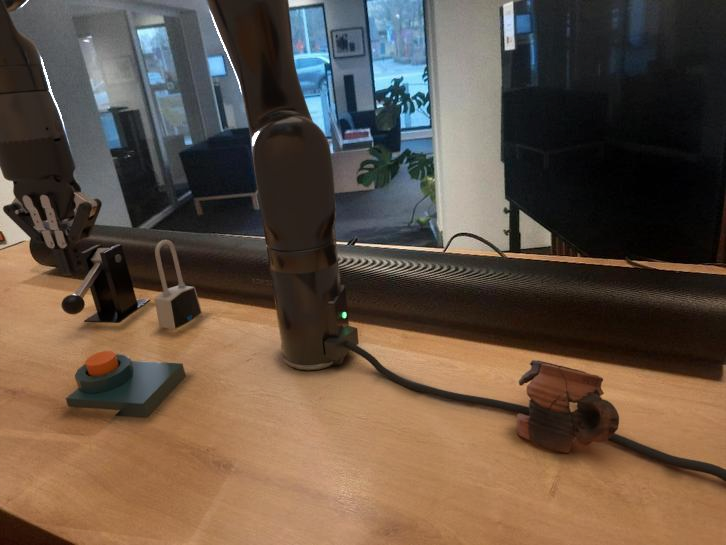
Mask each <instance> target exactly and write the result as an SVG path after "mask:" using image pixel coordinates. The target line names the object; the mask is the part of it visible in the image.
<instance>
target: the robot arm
mask: <svg viewBox="0 0 726 545" xmlns="http://www.w3.org/2000/svg"><path fill="white" fill-rule="evenodd" d="M28 1H29V0H0V170H1V174H2V176H3V178H4V179H5V180H7V181H9V182H12V184H13V187H12V188H13V189H12V194H13V196H14V199H13V201H12V202H11V203H9V204H6V205H4V206H3V207H2V211H3V213H4V214H5V215H6V216H7V217H8V218H9V219H10V220H11V221H12V222H14V224H16V225H17V227H18V228H20V229H21V231H22V232H23V233H24V234H26V235H27V236H28V237H29V238H30V239H31V240H32V241H33V242H34V243H35V244H39V245H40V244H44V245H46V247H47V248H49V249H51V251H52V254H53V257H54V260H55V263H56V267H57V268H58V270H59V272H60V273H61V275H63V276H75V275H77V274H80V273H81V272H83V271H84V261H83V258H82V255H81V252H82V251H81V249H80V245H79V243H80V242H81V241H82V240H85V239H87V238H90V237H91V235H92V232H93V229H94V227H95V224H96V222H97V219H98V217H99V213H100V212H101V209H102V206H103V202H102V201H101V199H99V198H97V197H96V198H93V199H92V198H90V197H88V196H87V195H86V194H85V193H84V192H82V188H81V185H80V184H79V182H78V181H77V179H76V178H75V176H74V172H75V170H76V169H77V165H76V162H75V159H74V158H75V157H74V155H73V151H72V148H71V145H70V142H69V138H68V134H67V131H66V128H65V124H64V120H63V118H62V114H61V112H60V109H59V107H58V104H57V102H56V100H55V97H54V95H53V92H52V89H51V86H50V81H49V79H48V75H47V72H46V69H45V66H44V62H43V59H42V57H41V54H40V51H39V49H38V48H37V46H36V44H35V42H34V41H32V40H31V39H30V38H28V37H27V36H25V35H24V34H22V33H21V32H20V31H19V29H17V27H16V25H15V23H14V20H13V18H12V17H11V15H10V13H12V12H15V11H17V10H18V9H20V8H22V7H23V6H24V5H25V4H27V2H28ZM205 1H206V5H207V8H208V10H209V13H210V16H211V18H212V22H213V23H214V26H215V28H216V31H217V34H218V36H219V38H220V41H221V43H222V45H223V48H224V51H225V52H226V54H227V57H228V59H229V61H230V64H231V66H232V68H233V71H234V74H235V76H236V79H237V82H238V85H239V89H240V92H241V98H242V101H243V106H244V110H245V116H246V120H247V121H246V122H247V126H248V131H249V137H250V138H249V139H250V147H251V148H250V150H251V156H252V163H253V171H254V176H255V183H256V189H257V195H258V202H259V206H260V212H261V214H260V216H261V223H262V229H263V235H264V238H265V239H264V240H265V246H266V252H267V258H268V266H269V273H270V279H271V285H272V292H273V298H274V305H275V311H276V312H275V313H276V317H277V324H278V332H279V336H280V343H281V344H280V345H281V355H282V360H283V362H284V364H286V365H287V366H289V367H290V368H292V369H296V370H300V371H316V370H322V369H326V368H329V367H332V366H342V365H343V362H344V360H345V358H346V356H347V354H348V352H350V351H351V352H353V353H355V354H356V355H359V356H360V357H362V358H363V359H365V360H366V361H367V362H368V363H370V365H372V366H373V368H374V369H375V370H376V371H377V372H379V373H380V374H381V375H382V376H383V377H385V378H387V379H389V380H390V381H392V382H394V383H396V384H398V385H401V386H403V387H405V388H407V389H411V390H414V391H417V392H420V393H424V394H426V395H431V396H434V397H437V398H441V399H445V400H448V401H453V402H459V403H465V404H470V405H477V406H482V407H488V408H494V409H499V410H502V411H508V412H510V413H511V412H512V413H515V414H520V413H521V414H523V415H526V416H530V413H529V406H526V405H521V404H517V403H513V402H508V401H504V400H499V399H494V398H489V397H484V396H476V395H469V394H464V393H458V392H453V391H449V390H445V389H440V388H437V387H434V386H430V385H426V384H422V383H419V382H416V381H412V380H409V379H407V378H405V377H402V376H401V375H398V374H396V373H394V372H393V371H391V370H390V369H388V368H386V367H385V366H384V365H383V364H382V363H381V362H380V361H378V359H377V358H376V357H375V356H374V355H372V354H371V353H369V352H368V351H367V350H366V349H364V348H362V347H360V346H359V342H360V341H359V332H358V327H355V326H351V325H350V323H349V312H348V301H347V291H346V286H345V285H344V284H341V274H340V266H339V256H338V246H337V234H336V220H337V206H336V194H335V180H334V178H335V177H334V169H333V168H334V167H333V157H332V152H331V147H330V144H329V140H328V138H327V136H326V134H325V133H324V131H323V130H322V129H321V127H320V126H319V125H318V124H317V123H315V122H314V121H313V117H312V115H311V113H310V110H309V107H308V104H307V101H306V98H305V95H304V91H303V89H302V85H301V82H300V79H299V76H298V71H297V66H296V62H295V55H294V54H295V53H294V44H293V30H292V22H291V12H290V11H291V10H290V3H289V0H205ZM607 441H609V442H610V443H613V444H616V445H618V446H621V447H622V448H625V449H627V450H631V451H632V452H635V453H637V454H640V455H642V456H644V457H647V458H649V459H652V460H655V461H658V462H660V463H662V464H665V465H668V466H671V467H674V468H679V469H683V470H687V471H694V472H699V473H704V474H707V475H710V476H714V477H717V478H719V479H720V480H722V481H724V482H726V468H723V467H721V466H719V465H716V464H713V463H709V462H706V461H700V460H695V459H690V458H684V457H679V456H675V455H673V454H669V453H666V452H663V451H660V450H657V449H655V448H653V447H650V446H647V445H644V444H642V443H639V442H638V441H634V440H632V439H630V438H628V437H626V436H622V435H620V434H617V433H616V432H615V433H614V434H613V435H612V437H610V438H609V439H608V440H607Z"/></svg>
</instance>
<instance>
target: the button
mask: <svg viewBox="0 0 726 545" xmlns="http://www.w3.org/2000/svg"><path fill="white" fill-rule="evenodd" d="M116 354H117V353H116V352H115V351H113V350H104V351H100V352H96V353H94V354H92V355H89V357H87V358H86V359H85V361H84V364H86V367H87V371H88V374H89V375H90V376H100V375H105V374H107V373H110V372H112V371H114V370H115V369H117V368H118V366H119V364H118V361H117V357H116Z"/></svg>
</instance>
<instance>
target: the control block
mask: <svg viewBox="0 0 726 545" xmlns="http://www.w3.org/2000/svg"><path fill="white" fill-rule="evenodd" d="M115 354H116V357H117V361H118V364H119V366H118V368H117V369H115V370H114V371H112V372H110V373H107V374H105V375H100V376H90V375H89V374H88V371H87V367H86V364H85V363H84V364H83V365H82V366H79V368H78V369H77V370H76V372H75V374H74V380H75V382H76V384H77V388H76V389H75V390H74V391H73V392H71V393H70V394H69V395H68V396H67V397H65V400H66V404H67V407H70V408H71V407H72V408H85V409H99V410H111V411H118V412H116V413H115V415H114V416H116V417H128V418H141V419H147V418H149V417H150V416H151V414H152V413H153V412H154V411H155V410H156V409H157V408H158V407H159V406H160V405H161V404H162V403H163V402H164V401H165V400H166V398H167V397H168V396H169V395H170V394H171V393H172V392H173V391H174V390H175V389H176V388H177V387H178V386H179V384H180V383H181V382H182V381H184V379H185V378H186V377H187V376H186V372H185V367H184V363H183V362H182V363H181V362H180V363H179V362H161V361H144V360H143V361H141V360H132V359H131V357H129V356H128V355H126V354H119V353H118V354H117V353H115Z"/></svg>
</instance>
